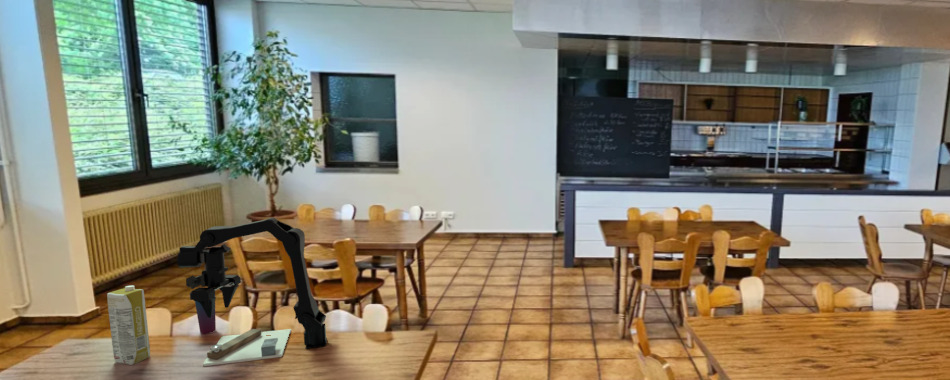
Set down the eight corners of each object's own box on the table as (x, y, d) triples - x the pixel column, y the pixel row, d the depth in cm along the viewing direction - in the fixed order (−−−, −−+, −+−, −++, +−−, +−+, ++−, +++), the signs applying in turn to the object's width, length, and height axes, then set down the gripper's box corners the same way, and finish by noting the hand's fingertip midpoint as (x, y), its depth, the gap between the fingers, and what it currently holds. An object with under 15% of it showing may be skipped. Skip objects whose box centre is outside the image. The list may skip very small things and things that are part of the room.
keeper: (278, 346, 164) (277, 337, 163) (275, 355, 157) (274, 345, 157) (265, 348, 163) (264, 339, 162) (261, 356, 156) (261, 347, 156)
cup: (209, 335, 177) (205, 295, 175) (192, 334, 178) (189, 294, 177) (222, 328, 184) (219, 289, 182) (206, 327, 185) (203, 288, 183)
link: (217, 359, 155) (216, 353, 155) (207, 358, 156) (207, 352, 156) (261, 334, 174) (261, 329, 173) (252, 333, 175) (252, 328, 175)
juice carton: (154, 356, 161) (147, 284, 158) (131, 367, 154) (122, 292, 151) (134, 352, 164) (126, 282, 162) (110, 363, 157) (101, 290, 154)
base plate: (291, 330, 179) (290, 319, 179) (282, 356, 158) (281, 343, 157) (222, 338, 174) (221, 326, 174) (203, 366, 153) (202, 353, 152)
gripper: (209, 258, 170) (212, 302, 172) (171, 273, 152) (175, 322, 154) (240, 258, 169) (243, 302, 171) (205, 273, 151) (209, 323, 153)
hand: (218, 312), depth 162 cm, fingers open, 9 cm apart
